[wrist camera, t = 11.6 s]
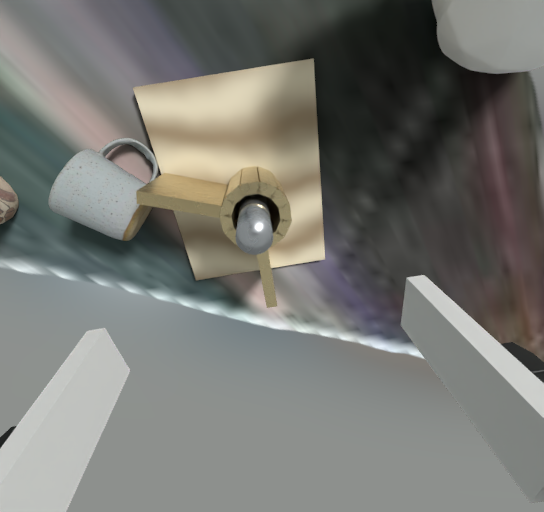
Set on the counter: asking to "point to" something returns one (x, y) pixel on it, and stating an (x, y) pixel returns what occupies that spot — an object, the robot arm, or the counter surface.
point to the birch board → (241, 154)
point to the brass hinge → (225, 206)
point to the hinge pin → (254, 225)
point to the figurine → (7, 201)
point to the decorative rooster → (492, 34)
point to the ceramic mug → (102, 192)
